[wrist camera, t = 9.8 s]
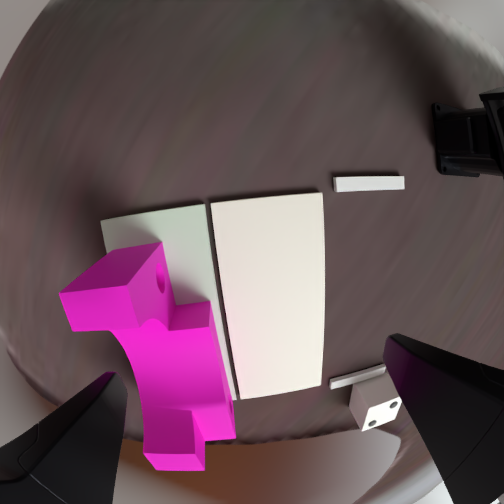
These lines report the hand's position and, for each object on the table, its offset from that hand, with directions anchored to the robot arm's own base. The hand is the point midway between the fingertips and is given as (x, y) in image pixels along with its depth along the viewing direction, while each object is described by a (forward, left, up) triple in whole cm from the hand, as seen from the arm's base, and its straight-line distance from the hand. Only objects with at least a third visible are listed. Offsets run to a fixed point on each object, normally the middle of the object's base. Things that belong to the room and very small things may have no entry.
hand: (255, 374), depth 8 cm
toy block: (+5, +5, -11) cm, 14 cm away
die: (-12, +16, -12) cm, 23 cm away
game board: (-3, +4, -12) cm, 13 cm away
